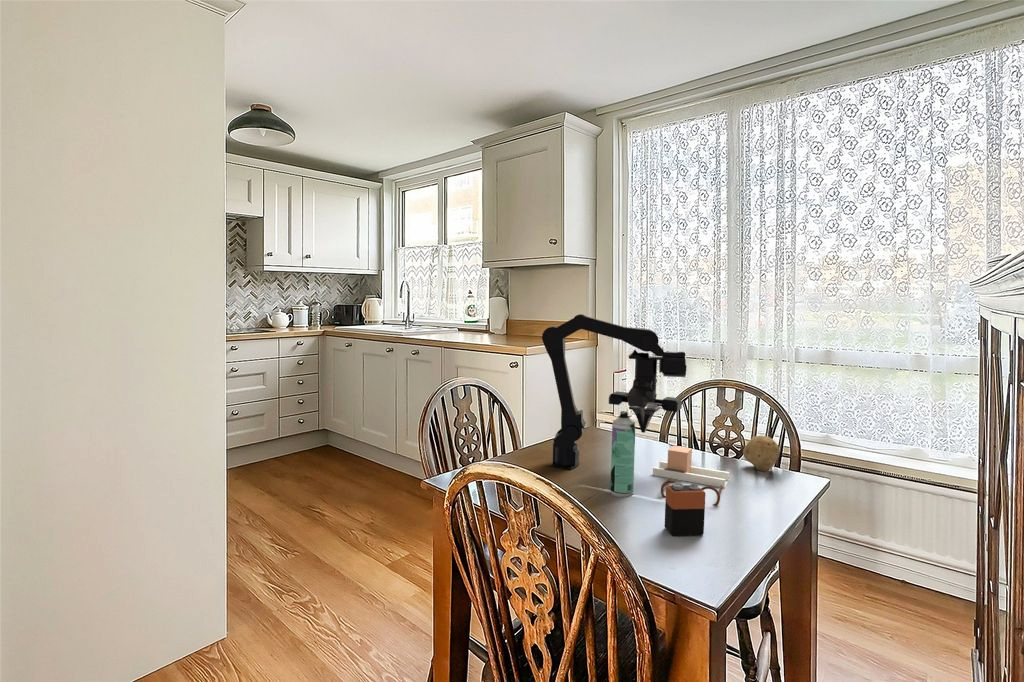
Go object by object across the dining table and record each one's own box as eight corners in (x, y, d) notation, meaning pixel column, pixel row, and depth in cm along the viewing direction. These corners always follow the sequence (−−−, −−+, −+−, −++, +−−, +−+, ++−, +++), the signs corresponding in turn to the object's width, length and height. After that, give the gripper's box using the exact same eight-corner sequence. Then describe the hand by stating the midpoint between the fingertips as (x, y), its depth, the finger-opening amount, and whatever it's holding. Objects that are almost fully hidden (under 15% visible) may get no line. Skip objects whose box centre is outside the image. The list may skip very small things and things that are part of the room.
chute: (652, 477, 145) (653, 466, 145) (659, 469, 151) (660, 459, 151) (724, 489, 136) (724, 478, 136) (729, 481, 142) (729, 471, 142)
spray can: (634, 490, 135) (637, 410, 133) (631, 498, 130) (634, 415, 128) (612, 487, 137) (614, 408, 135) (608, 495, 131) (611, 413, 130)
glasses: (659, 501, 129) (660, 480, 129) (668, 484, 141) (669, 465, 141) (719, 510, 124) (720, 489, 123) (722, 492, 136) (723, 472, 135)
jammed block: (667, 476, 144) (668, 450, 144) (671, 470, 149) (672, 445, 148) (686, 479, 142) (687, 453, 141) (690, 474, 146) (691, 448, 146)
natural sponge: (738, 471, 151) (740, 435, 150) (747, 463, 158) (749, 429, 157) (774, 478, 146) (776, 441, 145) (781, 470, 153) (783, 435, 152)
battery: (663, 527, 113) (665, 480, 113) (695, 527, 114) (697, 480, 113) (671, 537, 109) (673, 488, 108) (704, 536, 110) (706, 487, 109)
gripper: (602, 376, 146) (600, 433, 147) (673, 382, 136) (670, 444, 138) (616, 371, 155) (614, 425, 157) (683, 377, 146) (681, 434, 147)
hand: (643, 432), depth 149 cm, fingers closed
